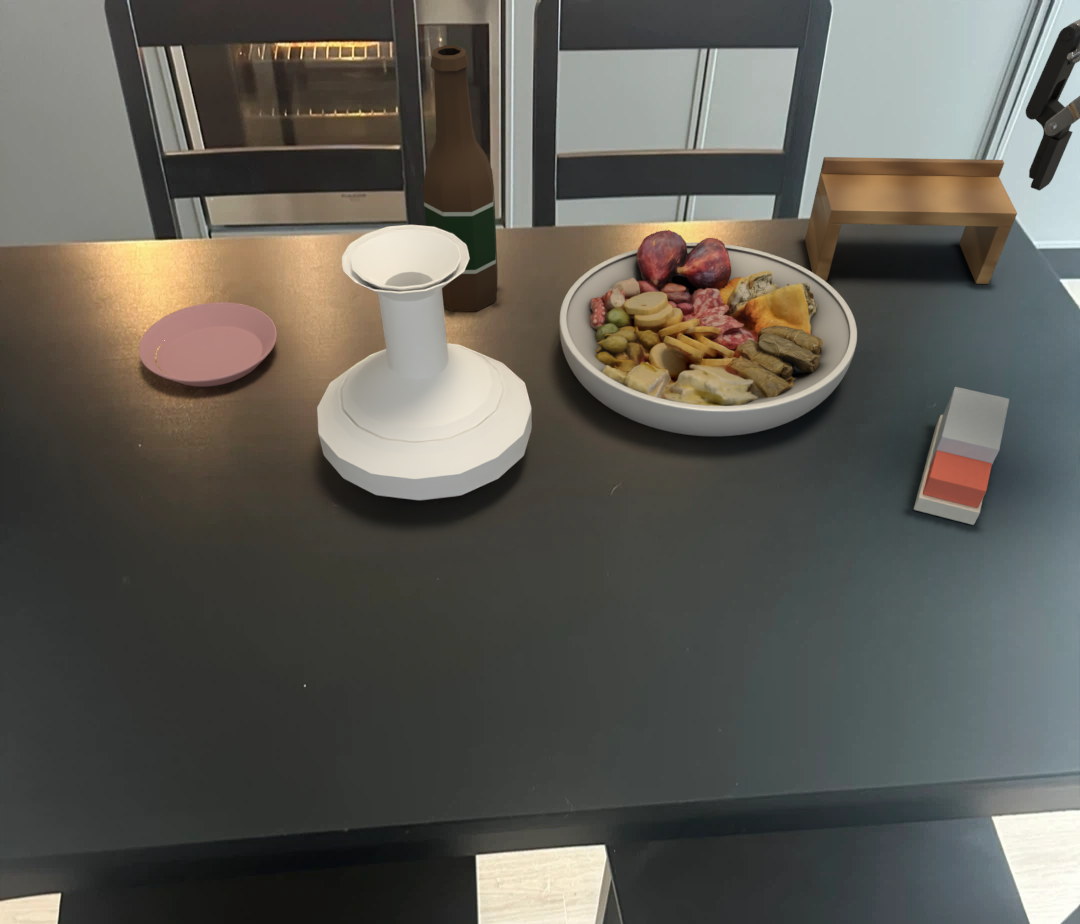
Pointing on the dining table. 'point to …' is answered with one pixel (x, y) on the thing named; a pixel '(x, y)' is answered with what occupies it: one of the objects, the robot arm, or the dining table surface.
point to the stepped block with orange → (962, 455)
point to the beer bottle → (461, 184)
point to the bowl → (706, 336)
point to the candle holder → (420, 382)
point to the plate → (208, 343)
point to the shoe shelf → (912, 204)
